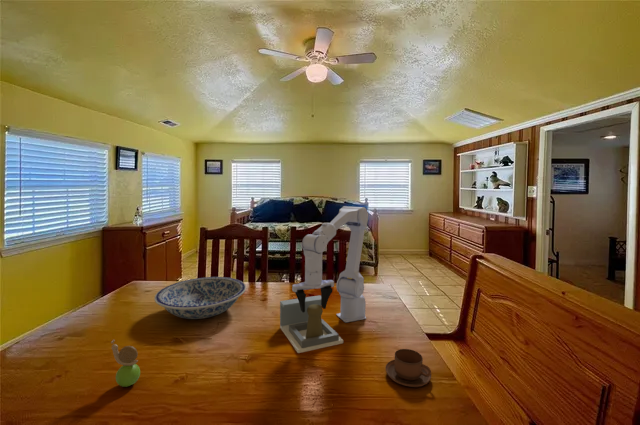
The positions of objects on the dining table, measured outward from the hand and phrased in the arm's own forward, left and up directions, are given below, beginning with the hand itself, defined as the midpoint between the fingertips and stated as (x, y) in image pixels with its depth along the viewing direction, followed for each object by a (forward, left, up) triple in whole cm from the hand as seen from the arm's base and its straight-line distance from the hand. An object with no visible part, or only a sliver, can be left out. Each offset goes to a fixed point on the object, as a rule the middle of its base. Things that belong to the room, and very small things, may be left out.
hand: (313, 309), depth 105 cm
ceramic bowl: (+33, -37, -10) cm, 51 cm away
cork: (0, +1, -9) cm, 9 cm away
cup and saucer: (-15, +30, -10) cm, 35 cm away
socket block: (0, -2, -10) cm, 10 cm away
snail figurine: (+54, +4, -10) cm, 55 cm away
